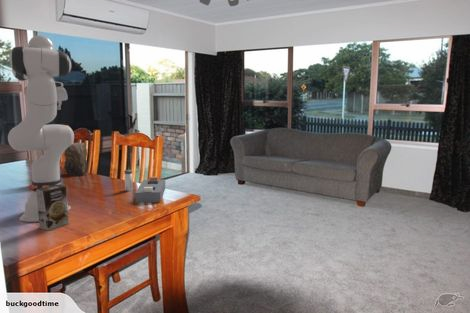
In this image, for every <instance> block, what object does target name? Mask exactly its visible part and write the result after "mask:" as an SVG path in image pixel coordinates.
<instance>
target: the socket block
mask: <svg viewBox="0 0 470 313" xmlns="http://www.w3.org/2000/svg"><path fill="white" fill-rule="evenodd" d="M158 177H159V176H149V179H143V180H142V182H141V183H140V184H139V186H138V188H137V189H136V191H135V193H134V194H135V195H134V196H135V204H137V203H139V204H141V203H161V201H162V199H163V196H164V193H165V191H166V179H158Z"/></svg>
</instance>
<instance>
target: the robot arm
mask: <svg viewBox="0 0 470 313" xmlns="http://www.w3.org/2000/svg"><path fill="white" fill-rule="evenodd" d="M9 64H10V66H11V72H12V76H14V78H15V79H17V80H19V81H21V82H22V81H27V84H26V86H25V87H24V88H23V94H24V96H25V102H26V111H25V115H24V118H23V119H22V121H21V122H20V123H18V124H17V125H16V126H14V127H12V128H11V129H10V130H9V132H8V134H7V142H8V144H9V146H10V147H11V148H12V149H13V150H15V151H22V152H31V151H33V152H34V151H44V153H43V154H42V155H40V156H41V157H40V158H39V157H38V158H36V159H35V160H34V161H32V163H31V165H30V166H31V167H30V169H31V177H32V178H31V179H32V181H31V183H30V184H29V185H28V190H30V191H31V192H30V193H29V196H28V198H27V201H26V202H25V205H24V212H23V214H22V215H21V216H20V217H19V222H26V223H27V222H29V223H30V222H31V223H32V222H33V223H34V222H38V223H39V215H38V203H37V192H36V189H39V188H44V187H48V186H53V185H62V186H63V184H62V183H63V181H62V178H61V175H60V173H61V172H60V167H61V166H60V164H61V163H60V162H61V159H62V155H64V153H65V150H66V149H67V148H68V147H69V146H70V145H71V144H74V141H75V134H74V131H73V129H72V128H71V127H70V126H69V125H68V124H67V125H65V124H58V123H57V124H56V123H55V124H54V123H53V124H49V123H51V122H52V121H53V120H55V119H56V117H57V115H58V113H57V112H58V111H59V110H62V109H61V106H62V103H63V102H64V101H67V100H68V92H67V90H66V88H64V83H63V82H59V81H56V80H55V79H54V78H55V77H59V78H66V77H68V75H70V73H71V70H72V61H71V58H70V56H69V55H68V54H67V53H66V52H64V51H62V50H61V49H56V48H55V45H54V43H53V42H52V40H51V39H50V38H48V37H47V36H45V35H41V34H40V35H34V36H32V37H31V39H30V40H28V44H27V46H26V47H24V46H14V47H13V48H12V49H11V52H10V54H9ZM67 207H68V211H70V210H71V209H72V208H71V206H70V205H68V203H67Z"/></svg>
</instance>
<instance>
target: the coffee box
mask: <svg viewBox="0 0 470 313" xmlns="http://www.w3.org/2000/svg"><path fill="white" fill-rule="evenodd" d="M36 192H37V203H38V215H39V221H38V224H39V225H38V226H39V228H40V229H43V230H45V231H51V230H54V229H57V228H60V227H62V226H63V227H64V226H66V225H69V224H70V222H69V210H68V207H67V204H68V197H67V186H66V185H63V184H62V185H53V186H48V187H44V188H39V189H36Z"/></svg>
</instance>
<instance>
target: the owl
mask: <svg viewBox="0 0 470 313" xmlns="http://www.w3.org/2000/svg"><path fill="white" fill-rule="evenodd" d="M86 146H87V144H86V142H73V143H72V144H71V145H70V146H69V147H68V148H67V149H66V150H65V151H64V152H63V155H64V157H65V159H66V160H65V161H64V166H63V168H64V170H65V172H66V175H67V176H74V177H75V176H78V177H79V176H80V177H82V176H85V175H86V174H87V172H88V165H89V164H88V160H87V156H88V149H87V148H86Z"/></svg>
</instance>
